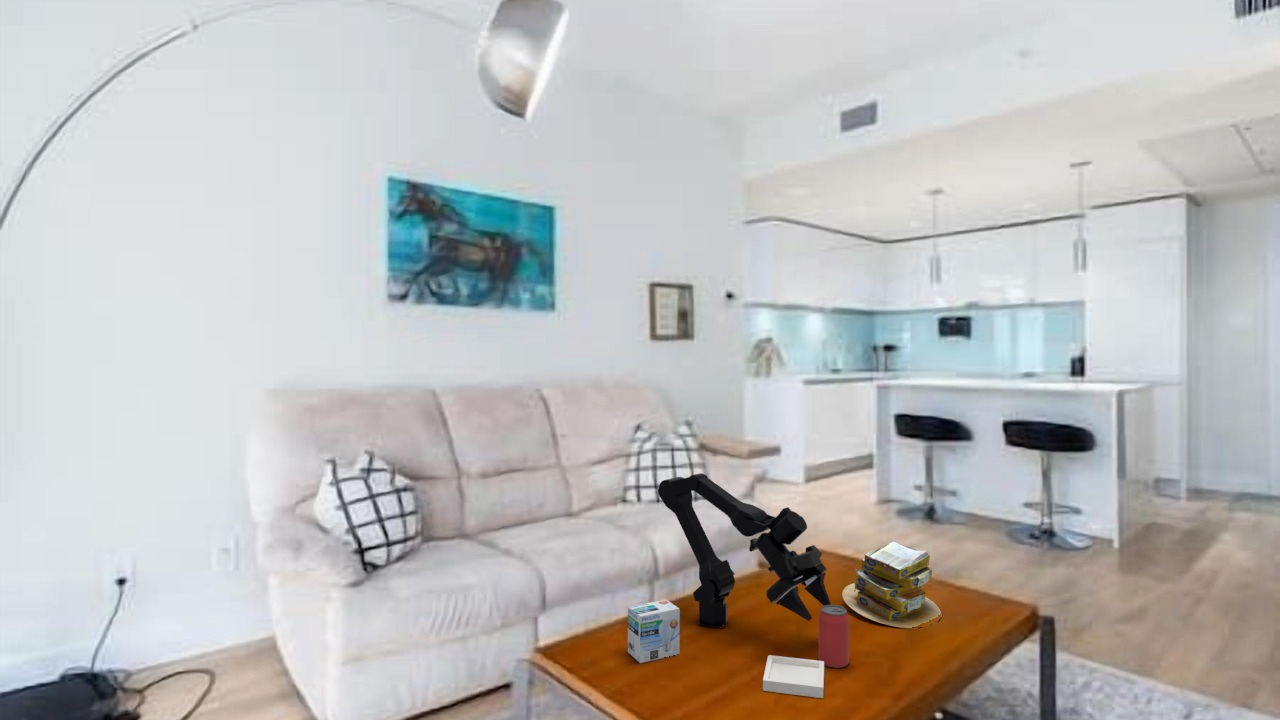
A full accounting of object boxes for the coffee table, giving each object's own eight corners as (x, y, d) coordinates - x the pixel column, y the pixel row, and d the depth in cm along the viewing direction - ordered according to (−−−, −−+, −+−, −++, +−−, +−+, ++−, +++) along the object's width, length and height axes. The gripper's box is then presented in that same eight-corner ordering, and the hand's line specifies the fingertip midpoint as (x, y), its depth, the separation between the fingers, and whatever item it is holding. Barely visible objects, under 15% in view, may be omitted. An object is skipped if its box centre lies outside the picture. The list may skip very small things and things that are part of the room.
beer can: (850, 670, 152) (850, 616, 152) (819, 667, 154) (819, 613, 154) (847, 657, 159) (847, 604, 159) (817, 654, 160) (817, 602, 160)
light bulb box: (639, 664, 156) (639, 616, 156) (626, 652, 162) (626, 606, 162) (681, 654, 161) (681, 607, 161) (666, 643, 167) (666, 598, 167)
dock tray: (762, 690, 144) (762, 680, 144) (768, 664, 155) (768, 654, 155) (823, 698, 141) (823, 687, 140) (824, 671, 152) (824, 661, 152)
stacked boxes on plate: (962, 619, 181) (963, 554, 180) (889, 635, 171) (889, 567, 170) (892, 588, 203) (892, 531, 203) (823, 602, 193) (823, 541, 193)
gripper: (777, 544, 155) (823, 606, 147) (818, 528, 168) (862, 583, 161) (747, 572, 160) (790, 633, 153) (790, 554, 174) (831, 609, 167)
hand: (820, 613), depth 158 cm, fingers open, 9 cm apart
